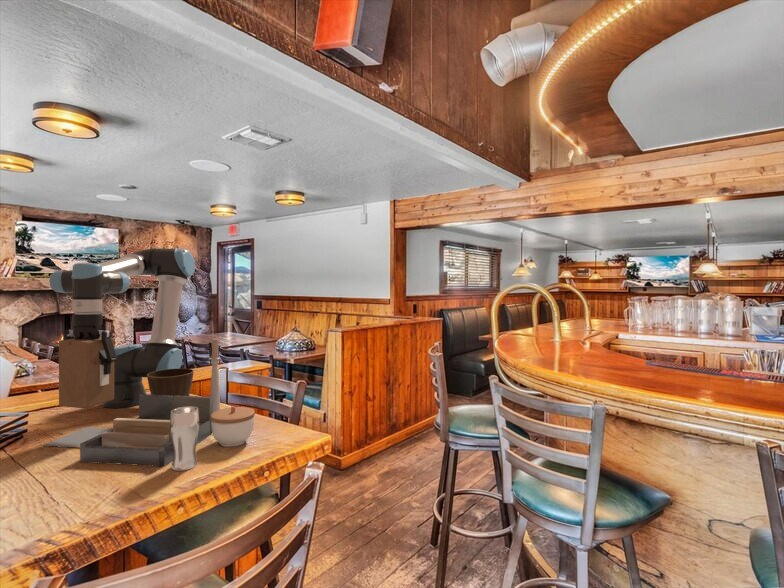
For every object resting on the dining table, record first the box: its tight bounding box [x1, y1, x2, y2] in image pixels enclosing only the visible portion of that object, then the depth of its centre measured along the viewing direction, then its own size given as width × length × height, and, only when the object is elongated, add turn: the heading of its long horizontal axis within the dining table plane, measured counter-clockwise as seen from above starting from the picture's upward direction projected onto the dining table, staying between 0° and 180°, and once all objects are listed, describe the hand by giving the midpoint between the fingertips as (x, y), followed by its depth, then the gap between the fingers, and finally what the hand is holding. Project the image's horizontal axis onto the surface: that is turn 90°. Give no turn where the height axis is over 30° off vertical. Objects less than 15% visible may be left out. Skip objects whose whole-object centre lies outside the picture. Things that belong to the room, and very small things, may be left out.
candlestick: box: [209, 338, 221, 413], centre depth 141 cm, size 13×13×30 cm
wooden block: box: [58, 337, 115, 409], centre depth 126 cm, size 10×10×20 cm
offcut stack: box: [102, 417, 171, 449], centre depth 114 cm, size 8×19×9 cm, turn 85°
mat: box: [42, 426, 113, 448], centre depth 127 cm, size 15×15×1 cm
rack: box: [79, 394, 213, 467], centre depth 120 cm, size 24×24×12 cm
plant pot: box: [146, 367, 195, 396], centre depth 148 cm, size 15×15×16 cm
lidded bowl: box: [211, 405, 256, 448], centre depth 125 cm, size 13×13×11 cm
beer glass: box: [170, 406, 199, 472], centre depth 108 cm, size 7×7×15 cm
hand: (87, 384), depth 126 cm, fingers closed on wooden block, 10 cm apart
